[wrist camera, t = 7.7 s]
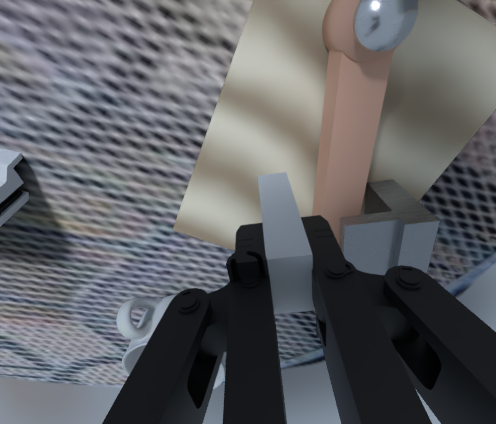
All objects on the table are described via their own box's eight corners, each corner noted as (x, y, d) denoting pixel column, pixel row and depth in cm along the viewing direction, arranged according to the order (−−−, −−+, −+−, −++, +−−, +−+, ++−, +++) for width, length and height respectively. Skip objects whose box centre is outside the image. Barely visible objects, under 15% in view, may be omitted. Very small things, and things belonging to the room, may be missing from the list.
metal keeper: (323, 187, 26) (347, 231, 20) (393, 179, 26) (440, 220, 19) (323, 242, 29) (344, 294, 23) (385, 235, 29) (423, 286, 23)
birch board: (289, -102, 17) (291, -107, 16) (532, 54, 21) (541, 54, 21) (174, 226, 29) (172, 229, 28) (344, 283, 33) (346, 287, 33)
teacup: (241, 326, 37) (240, 389, 30) (169, 344, 39) (153, 407, 32) (196, 250, 31) (181, 308, 24) (112, 276, 33) (76, 337, 26)
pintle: (369, -28, 15) (380, -35, 14) (417, 1, 16) (431, -3, 14) (337, 36, 16) (345, 35, 15) (382, 60, 17) (392, 61, 16)
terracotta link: (325, -15, 18) (342, -28, 15) (392, -17, 18) (423, -31, 15) (302, 243, 29) (309, 267, 26) (345, 242, 29) (356, 265, 26)
